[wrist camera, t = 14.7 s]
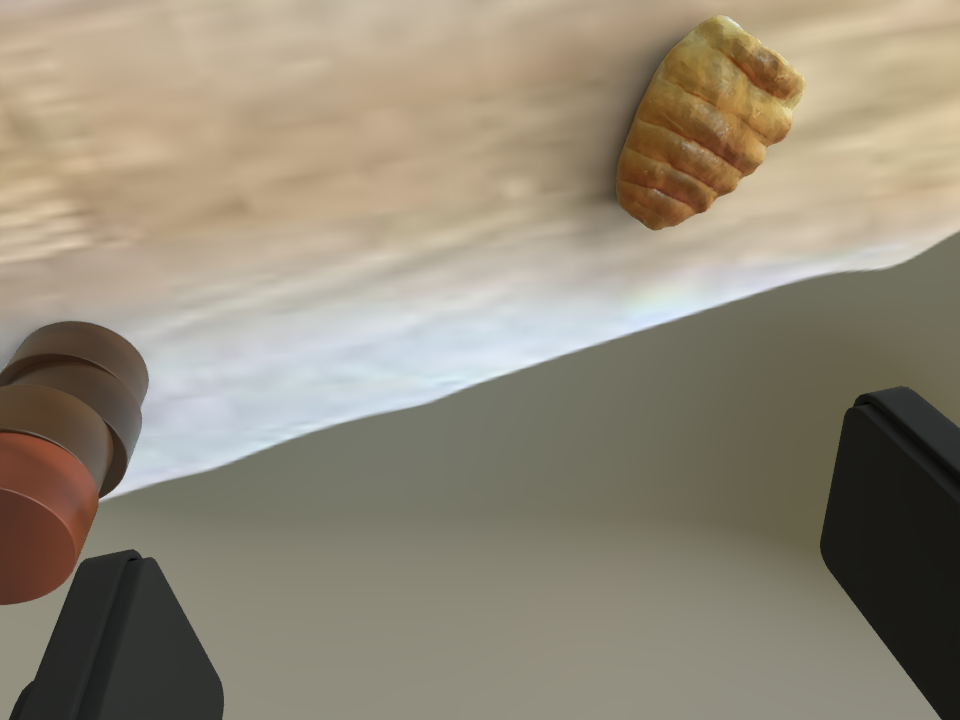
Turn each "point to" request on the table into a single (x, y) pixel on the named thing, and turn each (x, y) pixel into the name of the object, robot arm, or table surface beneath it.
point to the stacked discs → (78, 396)
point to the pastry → (704, 123)
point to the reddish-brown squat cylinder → (40, 516)
